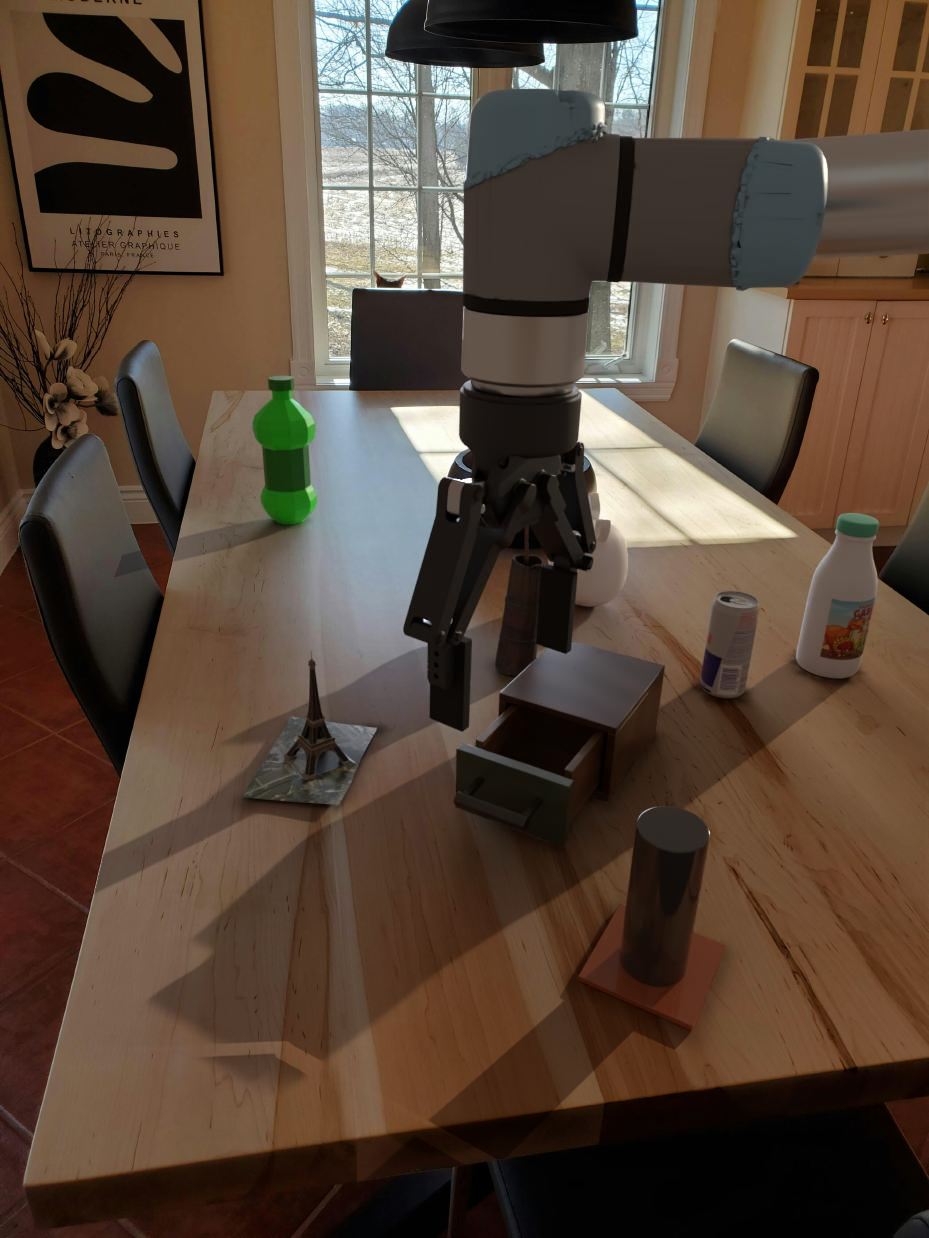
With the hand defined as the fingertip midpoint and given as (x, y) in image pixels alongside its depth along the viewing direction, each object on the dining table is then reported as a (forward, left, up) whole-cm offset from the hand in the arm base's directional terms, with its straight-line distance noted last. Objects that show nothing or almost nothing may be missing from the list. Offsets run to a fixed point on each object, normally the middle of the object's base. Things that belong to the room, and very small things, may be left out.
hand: (505, 682), depth 64 cm
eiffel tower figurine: (+27, -10, -23) cm, 37 cm away
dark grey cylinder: (-13, -2, -22) cm, 26 cm away
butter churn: (+17, -39, -23) cm, 49 cm away
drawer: (+4, -15, -22) cm, 27 cm away
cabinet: (+4, -27, -23) cm, 36 cm away
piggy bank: (+18, -62, -23) cm, 69 cm away
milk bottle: (-16, -61, -23) cm, 67 cm away
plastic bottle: (+77, -67, -23) cm, 105 cm away
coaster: (-13, -2, -23) cm, 26 cm away
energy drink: (-6, -48, -23) cm, 54 cm away
